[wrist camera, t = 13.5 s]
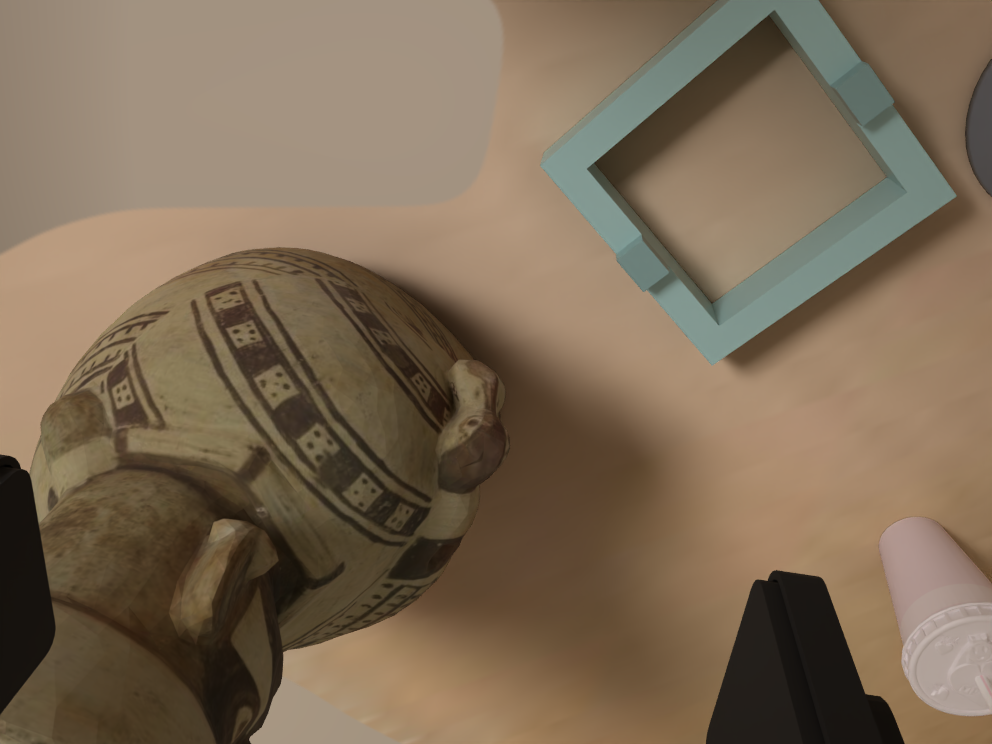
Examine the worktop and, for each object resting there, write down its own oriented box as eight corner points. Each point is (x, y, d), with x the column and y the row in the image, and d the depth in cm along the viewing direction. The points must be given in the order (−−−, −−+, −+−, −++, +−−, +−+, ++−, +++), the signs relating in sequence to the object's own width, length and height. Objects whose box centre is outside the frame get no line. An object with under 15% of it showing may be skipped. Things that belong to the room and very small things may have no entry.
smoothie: (859, 595, 51) (943, 802, 38) (848, 506, 49) (934, 697, 36) (975, 579, 50) (1102, 789, 37) (970, 487, 47) (1103, 678, 35)
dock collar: (543, 152, 42) (538, 170, 38) (771, -47, 37) (789, -48, 34) (705, 341, 45) (714, 374, 42) (933, 180, 40) (965, 201, 37)
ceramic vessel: (576, 481, 50) (546, 1092, 23) (247, 533, 54) (-102, 1098, 27) (494, 159, 42) (308, 504, 15) (120, 248, 47) (-534, 640, 20)
